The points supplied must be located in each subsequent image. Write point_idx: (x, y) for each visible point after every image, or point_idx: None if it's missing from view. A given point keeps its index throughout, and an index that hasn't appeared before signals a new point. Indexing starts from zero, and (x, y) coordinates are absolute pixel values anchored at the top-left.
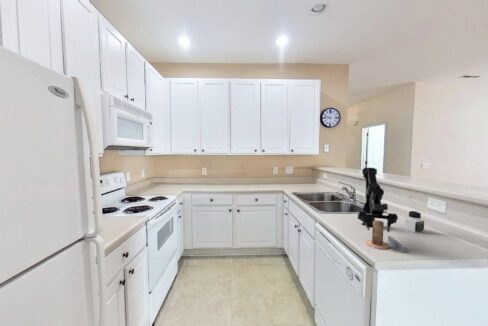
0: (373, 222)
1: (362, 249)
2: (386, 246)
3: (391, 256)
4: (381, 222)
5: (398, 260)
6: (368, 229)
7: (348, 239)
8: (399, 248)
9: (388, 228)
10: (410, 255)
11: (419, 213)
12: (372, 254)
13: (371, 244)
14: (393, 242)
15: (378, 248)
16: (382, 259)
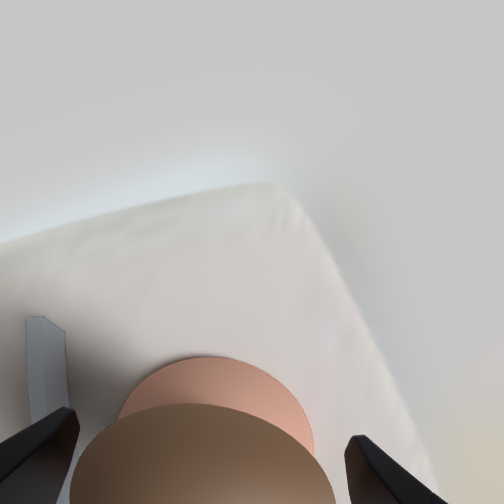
0: (326, 487)
1: (351, 312)
2: (144, 406)
3: (168, 247)
4: (120, 496)
5: (149, 204)
6: (358, 436)
7: (430, 472)
8: (59, 365)
9: (44, 429)
10: (38, 293)
11: None
12: (292, 246)
13: (272, 419)
14: None
15: (225, 358)
16: (243, 195)
